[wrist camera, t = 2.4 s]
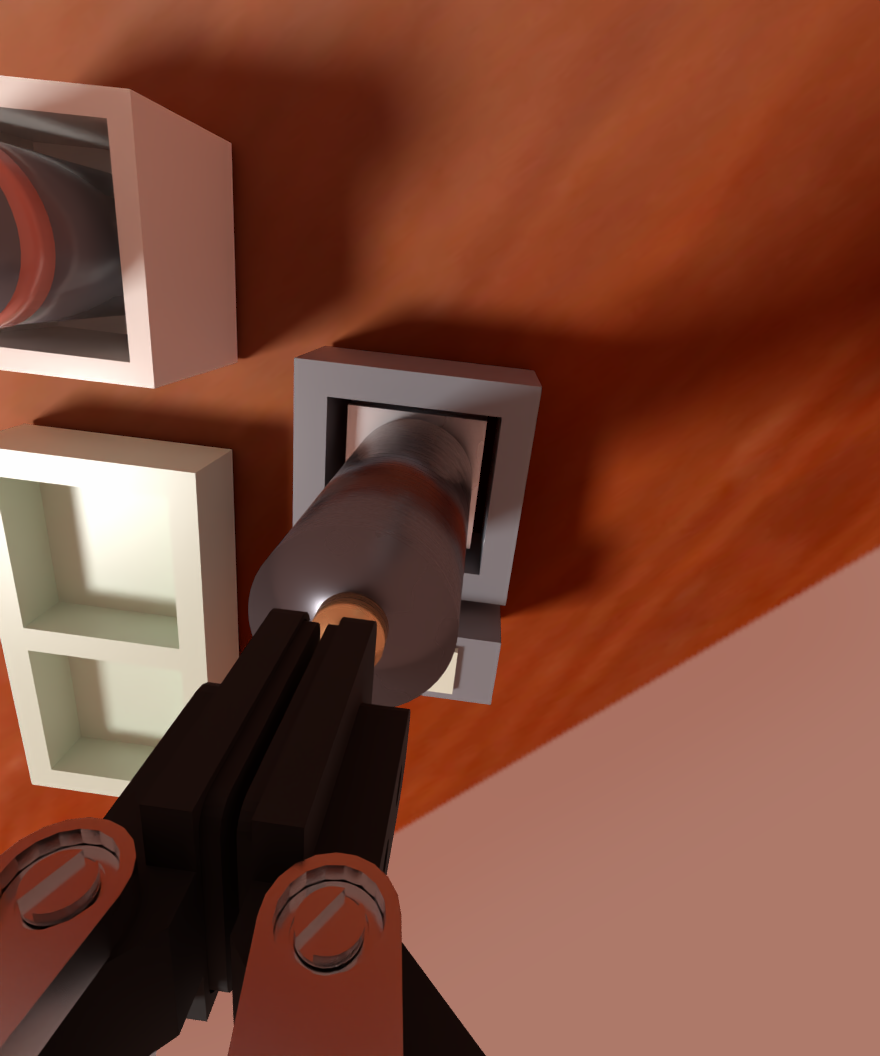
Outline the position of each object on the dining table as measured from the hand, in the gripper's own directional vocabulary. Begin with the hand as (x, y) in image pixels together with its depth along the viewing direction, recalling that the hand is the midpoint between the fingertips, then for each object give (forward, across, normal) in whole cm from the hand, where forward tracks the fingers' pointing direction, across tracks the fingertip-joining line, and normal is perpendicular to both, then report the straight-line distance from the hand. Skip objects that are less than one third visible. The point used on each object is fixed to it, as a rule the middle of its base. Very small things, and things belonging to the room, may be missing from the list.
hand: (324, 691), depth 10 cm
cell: (+11, 0, 0) cm, 11 cm away
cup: (+13, +10, -6) cm, 18 cm away
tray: (+13, +11, +8) cm, 19 cm away
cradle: (+13, 0, +1) cm, 13 cm away
